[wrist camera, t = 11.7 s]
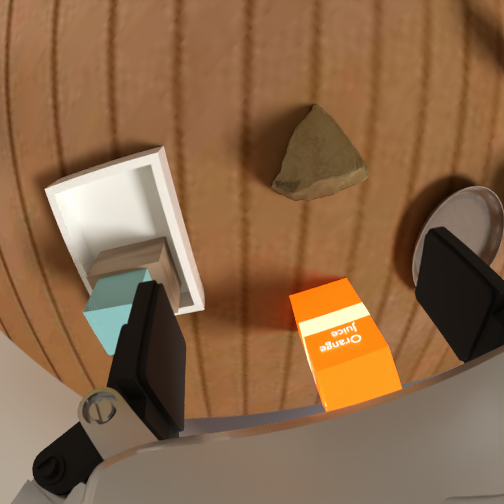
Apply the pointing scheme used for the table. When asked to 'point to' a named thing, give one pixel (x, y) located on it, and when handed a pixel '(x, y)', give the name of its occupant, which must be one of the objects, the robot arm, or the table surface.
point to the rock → (319, 160)
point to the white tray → (125, 216)
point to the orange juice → (343, 346)
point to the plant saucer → (466, 223)
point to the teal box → (113, 305)
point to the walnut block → (140, 265)
